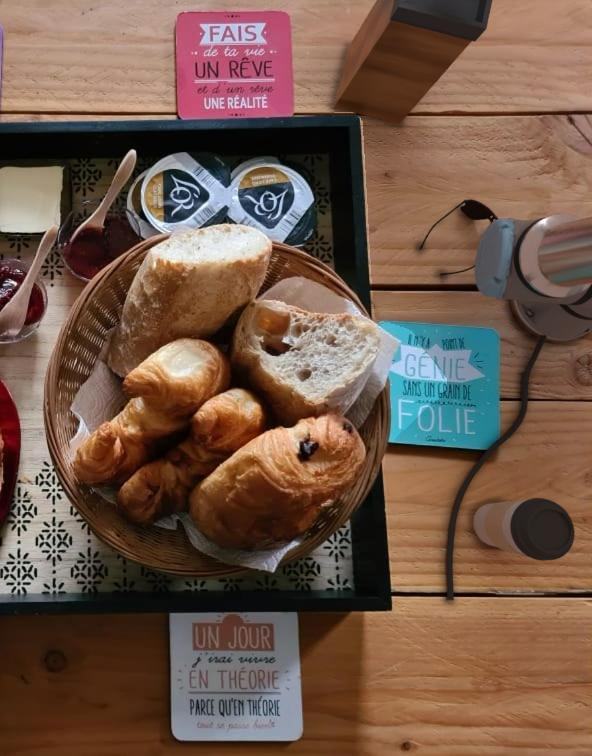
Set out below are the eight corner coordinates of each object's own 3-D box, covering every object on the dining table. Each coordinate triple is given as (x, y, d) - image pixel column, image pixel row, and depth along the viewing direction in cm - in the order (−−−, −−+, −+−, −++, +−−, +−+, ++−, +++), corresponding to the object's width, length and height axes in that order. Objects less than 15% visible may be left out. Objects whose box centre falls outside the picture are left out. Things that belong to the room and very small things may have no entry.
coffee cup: (485, 562, 119) (542, 573, 104) (455, 512, 120) (508, 516, 105) (532, 536, 119) (595, 543, 105) (502, 487, 121) (561, 487, 106)
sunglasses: (503, 248, 126) (517, 240, 121) (445, 288, 127) (457, 282, 122) (464, 200, 128) (477, 190, 123) (407, 240, 128) (417, 232, 123)
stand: (399, 124, 130) (473, 39, 105) (333, 107, 130) (391, 18, 105) (413, 64, 131) (489, -34, 107) (348, 47, 132) (409, -54, 107)
